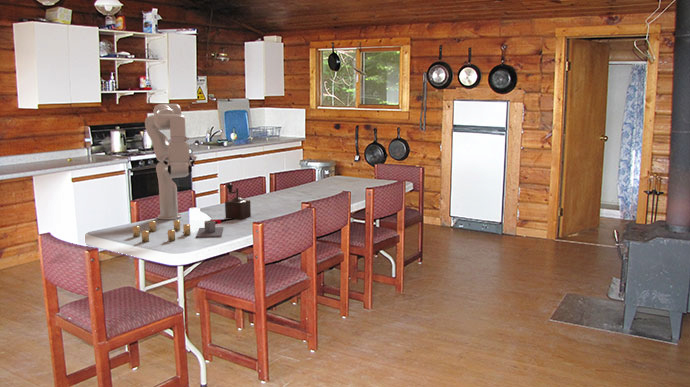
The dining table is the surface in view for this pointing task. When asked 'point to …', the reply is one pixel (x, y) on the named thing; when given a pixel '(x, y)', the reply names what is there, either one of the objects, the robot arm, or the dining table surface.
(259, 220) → the dining table surface
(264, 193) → the dining table surface
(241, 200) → the dark brown coffee grinder
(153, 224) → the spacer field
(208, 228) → the dark grey block
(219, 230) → the mat
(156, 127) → the robot arm
